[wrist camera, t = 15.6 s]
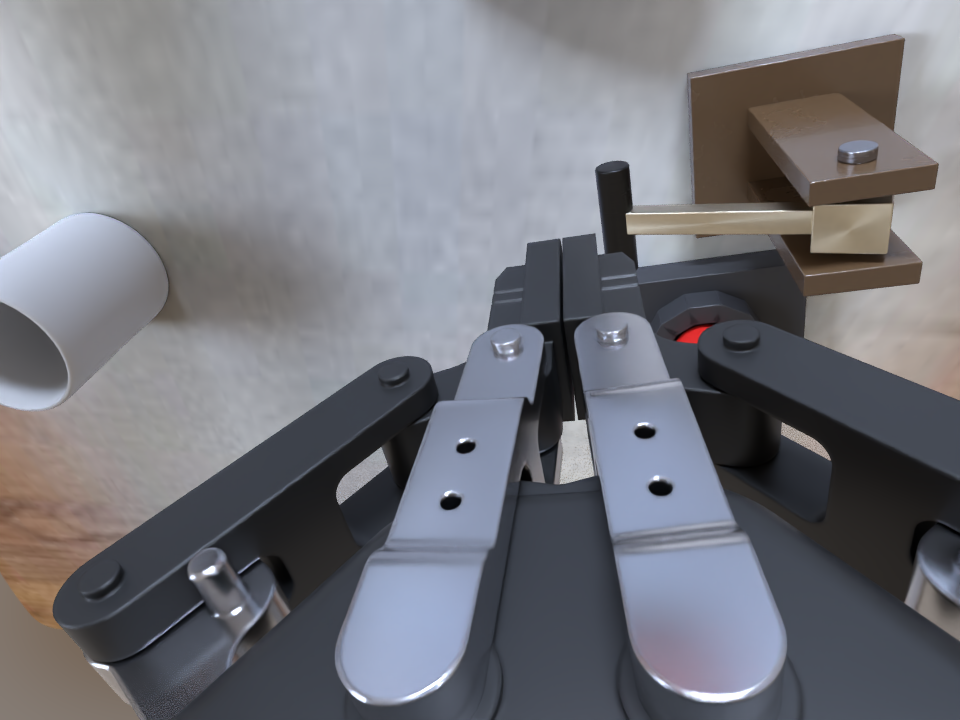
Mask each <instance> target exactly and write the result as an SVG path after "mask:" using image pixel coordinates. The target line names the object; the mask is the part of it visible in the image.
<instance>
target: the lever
mask: <svg viewBox="0 0 960 720" xmlns="http://www.w3.org/2000/svg"><path fill="white" fill-rule="evenodd" d="M595 173H596V182H597V190H598V199H599V207H600V216H601V224H602V233H603V242H604V250H605V254H610V253H617V252H623V253H624V254H625V255H627V256H628V257H629V258H631V259H632V260H633V261H634V263H635V268H636V270H637V269H638V260H637V248H636V237H635V235H672V234H811V246H810V252H811V253H824V254H887V253H888V245H889V237H890V230H891V222H892V214H893V207H894V195H889V196H882V197H875V198H868V199H861V200H854V201H847V202H840V203H833V204H826V205H819V206H812V207H809V206H808V205H807V204H806V202H774V203H729V204H683V205H638V206H633V203H632V192H631V181H630V170H629V164H628V163H627V162H625V161H611V162H607V163H604V164H601V165H599V166H598V167H596V170H595Z"/></svg>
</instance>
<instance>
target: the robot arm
mask: <svg viewBox="0 0 960 720" xmlns="http://www.w3.org/2000/svg"><path fill="white" fill-rule="evenodd" d="M574 395H575V402H576V408H577V415H578V420H585V419H586V424H587V432H588V439H589V446H590V452H591V458H592V464H593V470H594V476H593V477H590V478H586V479H582V480H578V481H575V482H571V483H567V484H560V475H561V465H562V456H563V447H562V442H561V435H562V431H563V422H564V421H575V408H574ZM782 422H783V423H785V424H787V425H789V426H791V427H793V428H795V429H797V430H799V431H801V432H803V433H804V434H806V435H808V436H810V437H812V438H814V439H815V440H817V441H818V442H819V443H820V444H821V445H822V446H823V447H824V448H825V449H826V451H827V452H828V454H829V456H830V459H831V461H829V460H828V459H826V458H824V457H822V456H820V455H818V454H816V453H815V452H813V451H811V450H809V449H807V448H805V447H803V446H802V445H800V444H798V443H796V442H794V441H792V440H790V439H789V438H787V437H785V436H783V435H781V426H782ZM380 447H382V450H383V452H384V455H385V458H386V460H387V463H388V467H387V468H386V469H384V470H383V471H382V472H381V473H379V474H378V475H377V476H376V477H374V478H373V479H372V480H371V481H369V482H368V483H367V484H366V485H364V486H363V487H362V488H360V489H359V490H358V491H357V492H355V493H354V494H353V495H352V496H350V497H349V498H348V499H347V500H345V501H344V502H343V503H342V504H340V505H339V504H338V502H337V499H336V490H337V487H338V484H339V482H340V480H341V479H342V478H343V476H344V475H345V474H346V473H348V472H349V471H350V470H351V469H353V468H354V467H355V466H357V465H358V464H359V463H361V462H362V461H363V460H364V459H366V458H367V457H368V456H370V455H371V454H372V453H374V452H375V451H376V450H377V449H379V448H380ZM53 616H54V618H55V620H56V622H57V623H58V624H59V625H60V626H61V627H62V628H63V629H64V631H65V632H66V633H67V634H68V635H69V636H70V637H71V638H72V639H73V641H74V642H75V643H76V644H77V645H78V646H79V647H80V648H81V649H82V651H83V654H84V657H85V658H86V660H87V661H88V662H89V663H90V664H91V665H92V667H93V668H94V669H95V670H96V671H97V672H98V673H99V674H100V675H101V677H102V678H103V679H104V680H105V681H106V682H107V683H108V684H109V685H110V686H111V688H112V689H113V690H114V691H115V692H116V693H117V694H118V695H119V696H120V698H121V699H122V700H123V701H125V702H126V703H127V704H129V705H131V706H132V707H133V709H134V711H135V712H136V714H137V716H138V717H139V719H140V720H960V401H959V400H957V399H954V398H952V397H949V396H947V395H944V394H942V393H939V392H937V391H934V390H932V389H929V388H927V387H924V386H922V385H919V384H917V383H914V382H912V381H909V380H907V379H904V378H902V377H899V376H897V375H894V374H892V373H889V372H887V371H884V370H882V369H879V368H877V367H874V366H872V365H869V364H867V363H864V362H862V361H859V360H857V359H854V358H852V357H849V356H847V355H844V354H842V353H839V352H837V351H834V350H832V349H829V348H827V347H824V346H822V345H819V344H817V343H814V342H812V341H809V340H807V339H804V338H802V337H799V336H797V335H794V334H792V333H789V332H787V331H784V330H782V329H779V328H777V327H774V326H772V325H769V324H766V323H763V322H759V321H753V320H731V321H725V322H721V323H718V324H715V325H713V326H711V327H709V328H707V329H706V330H704V331H703V332H702V333H701V334H700V336H699V338H698V342H697V343H686V342H677V341H673V340H669V339H666V338H663V337H661V336H659V335H657V334H656V333H654V332H653V330H652V327H651V325H650V323H649V322H648V321H647V320H646V317H645V312H644V307H643V302H642V297H641V292H640V287H639V282H638V278H637V273H636V268H635V263H634V261H633V260H632V259H631V258H629V257H628V256H627V255H625V254H624V253H623V252H617V253H610V254H602V255H598V253H597V244H596V235H595V234H588V235H581V236H574V237H567V238H563V252H562V246H561V241H560V239H553V240H546V241H539V242H532V243H528V244H527V252H526V263H525V265H522V266H515V267H507V268H506V269H505V270H504V271H503V272H502V273H501V274H500V276H499V277H498V278H497V279H496V281H495V287H494V295H493V299H492V305H491V311H490V317H489V323H488V329H487V331H486V332H485V333H483V334H481V335H480V336H479V337H478V338H477V339H476V340H475V341H474V342H473V344H472V346H471V349H470V352H469V355H468V358H467V361H466V362H465V363H463V364H460V365H458V366H455V367H453V368H450V369H446V370H443V371H440V372H437V373H433V371H432V368H431V365H430V364H429V363H428V362H427V361H426V360H424V359H422V358H419V357H413V356H404V357H397V358H393V359H389V360H386V361H384V362H382V363H379V364H377V365H376V366H374V367H373V368H371V369H370V370H368V371H367V372H365V373H364V374H362V375H361V376H359V377H358V378H356V379H355V380H353V381H352V382H350V383H349V384H348V385H346V386H345V387H343V388H342V389H340V390H339V391H337V392H336V393H334V394H333V395H331V396H330V397H328V398H327V399H325V400H324V401H323V402H321V403H320V404H318V405H317V406H315V407H314V408H312V409H311V410H309V411H308V412H306V413H305V414H303V415H302V416H301V417H299V418H298V419H296V420H295V421H293V422H292V423H290V424H289V425H287V426H286V427H284V428H283V429H281V430H280V431H278V432H277V433H276V434H274V435H273V436H271V437H270V438H268V439H267V440H265V441H264V442H262V443H261V444H259V445H258V446H256V447H255V448H254V449H252V450H251V451H249V452H248V453H246V454H245V455H243V456H242V457H240V458H239V459H237V460H236V461H234V462H233V463H231V464H230V465H229V466H227V467H226V468H224V469H223V470H221V471H220V472H218V473H217V474H215V475H214V476H212V477H211V478H209V479H208V480H207V481H205V482H204V483H202V484H201V485H199V486H198V487H196V488H195V489H193V490H192V491H190V492H189V493H187V494H186V495H184V496H183V497H182V498H180V499H179V500H177V501H176V502H174V503H173V504H171V505H170V506H168V507H167V508H165V509H164V510H162V511H161V512H160V513H158V514H157V515H155V516H154V517H152V518H151V519H149V520H148V521H146V522H145V523H143V524H142V525H140V526H139V527H138V528H136V529H135V530H133V531H132V532H130V533H129V534H127V535H126V536H124V537H123V538H121V539H120V540H118V541H117V542H115V543H114V544H113V545H111V546H110V547H108V548H107V549H105V550H104V551H102V552H101V553H99V554H98V555H96V556H95V557H93V558H92V559H91V560H89V561H88V562H86V563H85V564H84V565H82V566H81V567H80V568H79V569H77V570H76V571H75V572H74V573H73V574H72V575H71V576H70V577H69V578H68V579H67V581H66V582H65V583H64V584H63V586H62V587H61V589H60V590H59V592H58V594H57V596H56V598H55V600H54V604H53Z"/></svg>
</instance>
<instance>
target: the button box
mask: <svg viewBox="0 0 960 720" xmlns="http://www.w3.org/2000/svg"><path fill="white" fill-rule="evenodd" d="M636 273H637V278H638V282H639V287H640V292H641V297H642V302H643V307H644V312H645V317H646V320H647V321H648V322H649V323H650V325H651V327H652V330H653V332H654V333H656V334H657V335H659V336H661V337H663V338H666V339H669V340H673V341H676V340H677V339H678V338H679V337H680V336H681V335H682V334H683V333H684V332H686V331H687V330H689V329H691V328H693V327H696V326H700V325H707V324H711V325H715V324H718V323H721V322H725V321H731V320H753V321H759V322H763V323H766V324H769V325H772V326H774V327H777V328H779V329H782V330H784V331H787V332H789V333H792V334H794V335H797V336H799V337H802V338H804V327H805V311H806V297H805V296H803V294H802V293H801V291H800V289H799V287H798V286H797V284H796V282H795V281H794V279H793V277H792V275H791V274H790V272H789V270H788V268H787V267H786V265H785V263H784V261H783V260H782V258H781V256H780V254H779V253H778V251H777V250H769V251H762V252H754V253H746V254H739V255H731V256H723V257H716V258H708V259H701V260H693V261H685V262H678V263H670V264H662V265H655V266H647V267H639V268H638V269H637V270H636Z"/></svg>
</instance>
